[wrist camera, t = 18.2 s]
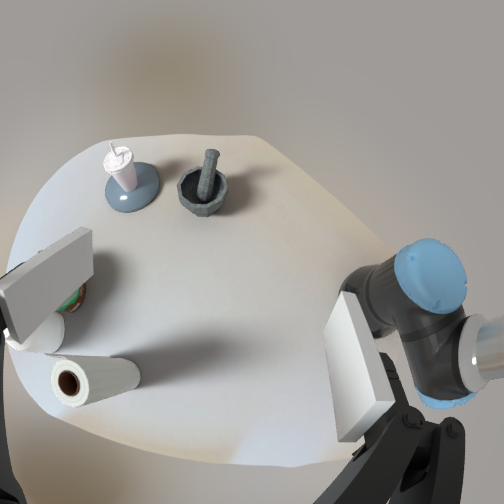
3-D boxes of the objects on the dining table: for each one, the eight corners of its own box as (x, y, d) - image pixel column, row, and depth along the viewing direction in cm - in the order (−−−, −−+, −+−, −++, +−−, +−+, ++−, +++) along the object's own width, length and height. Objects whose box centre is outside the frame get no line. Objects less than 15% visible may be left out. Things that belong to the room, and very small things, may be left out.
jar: (23, 332, 43) (-21, 321, 29) (37, 295, 46) (-5, 276, 32) (55, 360, 42) (10, 357, 28) (70, 322, 46) (27, 308, 32)
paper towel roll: (145, 387, 43) (94, 405, 23) (117, 392, 42) (57, 409, 22) (134, 350, 45) (78, 345, 26) (107, 356, 44) (42, 353, 24)
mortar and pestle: (215, 231, 55) (213, 200, 44) (174, 216, 56) (163, 183, 44) (235, 188, 59) (238, 152, 48) (197, 175, 60) (192, 139, 48)
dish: (148, 157, 61) (146, 153, 59) (168, 194, 57) (167, 191, 56) (101, 181, 57) (99, 179, 56) (116, 222, 54) (114, 220, 53)
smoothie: (135, 168, 58) (118, 127, 45) (148, 185, 56) (132, 142, 43) (112, 184, 56) (91, 145, 43) (125, 202, 54) (103, 162, 41)
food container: (97, 308, 47) (73, 298, 38) (74, 319, 46) (47, 310, 37) (83, 254, 51) (60, 236, 41) (61, 266, 49) (37, 249, 40)
